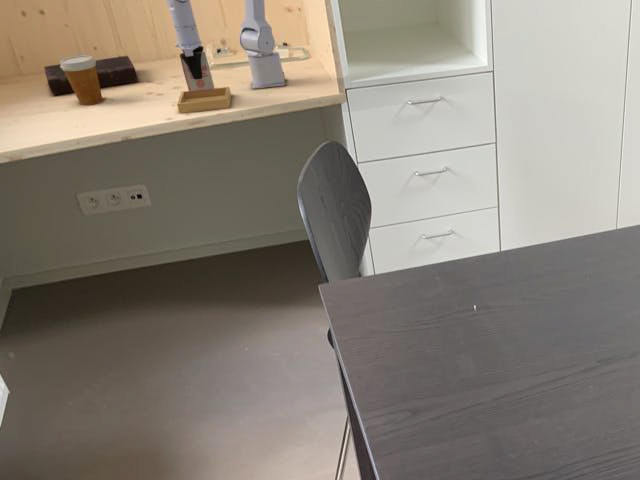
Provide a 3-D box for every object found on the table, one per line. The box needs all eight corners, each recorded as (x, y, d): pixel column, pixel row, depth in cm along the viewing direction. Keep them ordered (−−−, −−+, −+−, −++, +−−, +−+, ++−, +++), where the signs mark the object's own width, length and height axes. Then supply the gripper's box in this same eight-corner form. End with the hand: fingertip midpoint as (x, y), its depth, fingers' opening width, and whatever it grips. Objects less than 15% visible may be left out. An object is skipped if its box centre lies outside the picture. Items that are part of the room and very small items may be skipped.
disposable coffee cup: (74, 99, 236) (59, 57, 228) (108, 94, 238) (94, 53, 231) (73, 108, 228) (57, 65, 221) (108, 103, 231) (94, 60, 224)
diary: (139, 82, 248) (134, 66, 245) (53, 96, 239) (46, 79, 236) (131, 69, 261) (126, 53, 258) (49, 82, 252) (43, 65, 249)
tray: (231, 95, 233) (229, 86, 232) (229, 107, 224) (227, 98, 222) (183, 100, 231) (181, 91, 230) (179, 113, 221) (177, 104, 220)
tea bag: (190, 89, 226) (179, 52, 220) (214, 86, 227) (204, 50, 221) (189, 93, 223) (179, 56, 217) (214, 90, 224) (204, 53, 218)
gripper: (172, 21, 220) (186, 71, 228) (167, 32, 208) (181, 85, 216) (198, 18, 221) (211, 69, 229) (194, 30, 210) (208, 82, 218)
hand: (198, 76), depth 223 cm, fingers closed on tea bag, 4 cm apart
